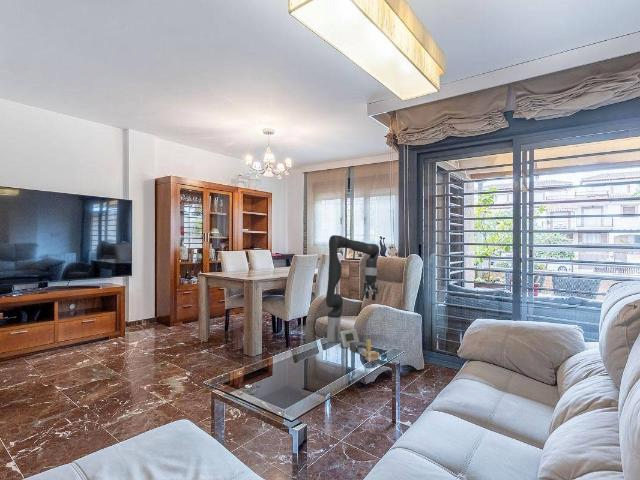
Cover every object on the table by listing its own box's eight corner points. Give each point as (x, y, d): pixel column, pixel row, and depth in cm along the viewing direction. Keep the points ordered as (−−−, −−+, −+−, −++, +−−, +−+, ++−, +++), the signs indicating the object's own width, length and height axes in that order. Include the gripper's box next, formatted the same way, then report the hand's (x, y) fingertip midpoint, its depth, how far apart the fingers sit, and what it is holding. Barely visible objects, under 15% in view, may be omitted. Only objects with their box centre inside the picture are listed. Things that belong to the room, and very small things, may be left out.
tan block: (364, 358, 213) (365, 351, 213) (374, 358, 216) (375, 351, 216) (369, 361, 208) (369, 354, 209) (379, 360, 211) (379, 353, 211)
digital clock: (343, 349, 235) (343, 332, 235) (335, 345, 242) (335, 330, 243) (362, 346, 244) (362, 330, 244) (353, 343, 251) (354, 328, 252)
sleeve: (349, 349, 233) (349, 342, 233) (358, 349, 235) (358, 341, 235) (354, 352, 226) (354, 344, 226) (363, 352, 229) (363, 344, 229)
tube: (355, 351, 228) (356, 335, 229) (360, 350, 229) (360, 334, 230) (369, 359, 212) (370, 341, 212) (374, 358, 213) (374, 341, 213)
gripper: (360, 273, 239) (360, 298, 238) (371, 275, 226) (370, 301, 225) (370, 273, 242) (370, 298, 241) (381, 275, 229) (381, 300, 228)
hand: (370, 299), depth 233 cm, fingers open, 8 cm apart
